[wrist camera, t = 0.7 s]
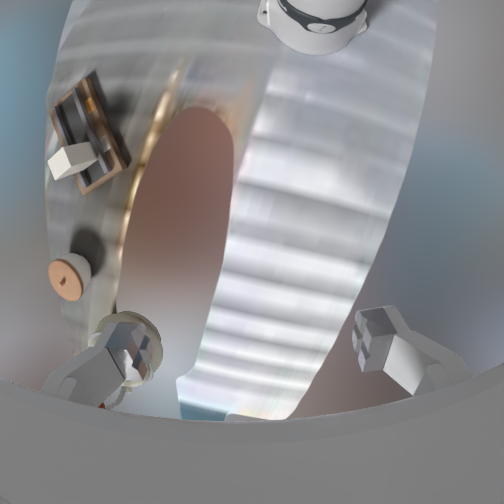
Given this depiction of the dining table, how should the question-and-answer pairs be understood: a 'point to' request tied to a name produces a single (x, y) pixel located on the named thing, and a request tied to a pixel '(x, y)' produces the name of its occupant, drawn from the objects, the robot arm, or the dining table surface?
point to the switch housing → (87, 134)
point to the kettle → (151, 333)
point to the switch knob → (72, 159)
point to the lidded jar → (70, 275)
